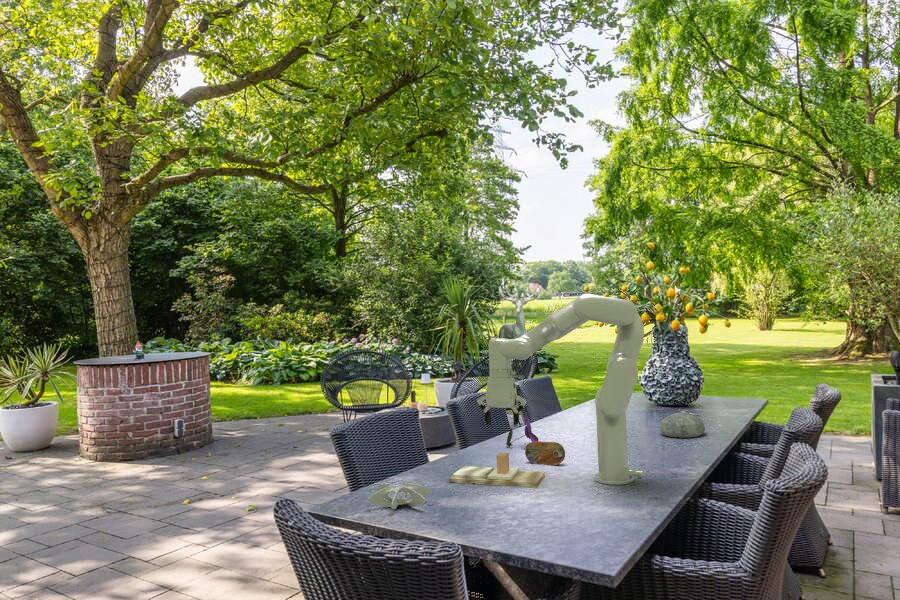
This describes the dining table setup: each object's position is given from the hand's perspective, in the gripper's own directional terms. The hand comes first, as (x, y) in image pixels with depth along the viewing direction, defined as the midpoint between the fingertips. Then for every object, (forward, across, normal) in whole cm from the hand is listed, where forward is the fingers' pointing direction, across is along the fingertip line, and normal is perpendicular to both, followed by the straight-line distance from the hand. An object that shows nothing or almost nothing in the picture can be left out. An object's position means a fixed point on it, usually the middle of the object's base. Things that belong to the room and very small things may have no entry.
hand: (502, 424), depth 213 cm
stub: (+17, 0, +1) cm, 17 cm away
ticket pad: (+19, +2, +2) cm, 19 cm away
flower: (+19, +6, -50) cm, 54 cm away
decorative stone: (+19, -58, -88) cm, 107 cm away
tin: (+19, -10, -24) cm, 32 cm away
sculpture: (+19, +22, +36) cm, 46 cm away
